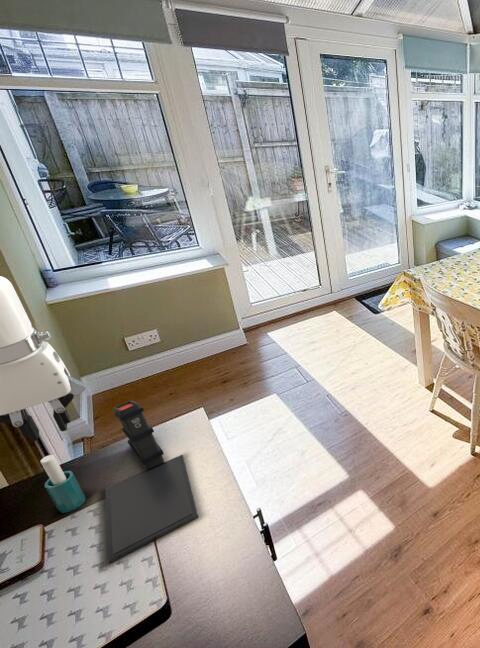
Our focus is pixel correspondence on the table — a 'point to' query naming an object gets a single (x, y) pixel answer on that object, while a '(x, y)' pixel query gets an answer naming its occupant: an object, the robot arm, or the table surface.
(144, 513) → the tablet
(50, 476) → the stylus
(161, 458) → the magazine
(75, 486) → the pen pot
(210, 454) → the table surface
